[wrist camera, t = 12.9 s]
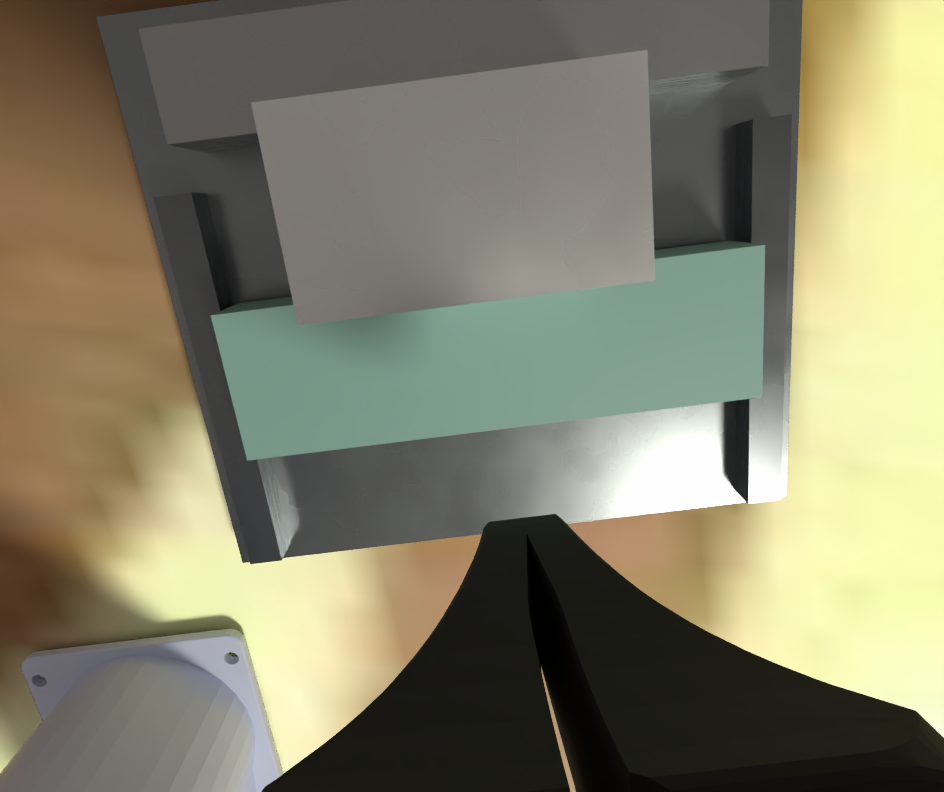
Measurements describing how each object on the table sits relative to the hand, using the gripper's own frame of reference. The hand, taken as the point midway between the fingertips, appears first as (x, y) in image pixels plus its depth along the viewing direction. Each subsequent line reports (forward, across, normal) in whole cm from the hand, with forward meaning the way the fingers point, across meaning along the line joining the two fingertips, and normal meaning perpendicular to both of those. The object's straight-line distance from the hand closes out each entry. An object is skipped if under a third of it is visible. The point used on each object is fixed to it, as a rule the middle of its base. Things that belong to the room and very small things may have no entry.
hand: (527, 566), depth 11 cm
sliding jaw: (+8, 0, -3) cm, 8 cm away
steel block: (+8, 0, -6) cm, 11 cm away
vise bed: (+9, 0, -4) cm, 10 cm away
